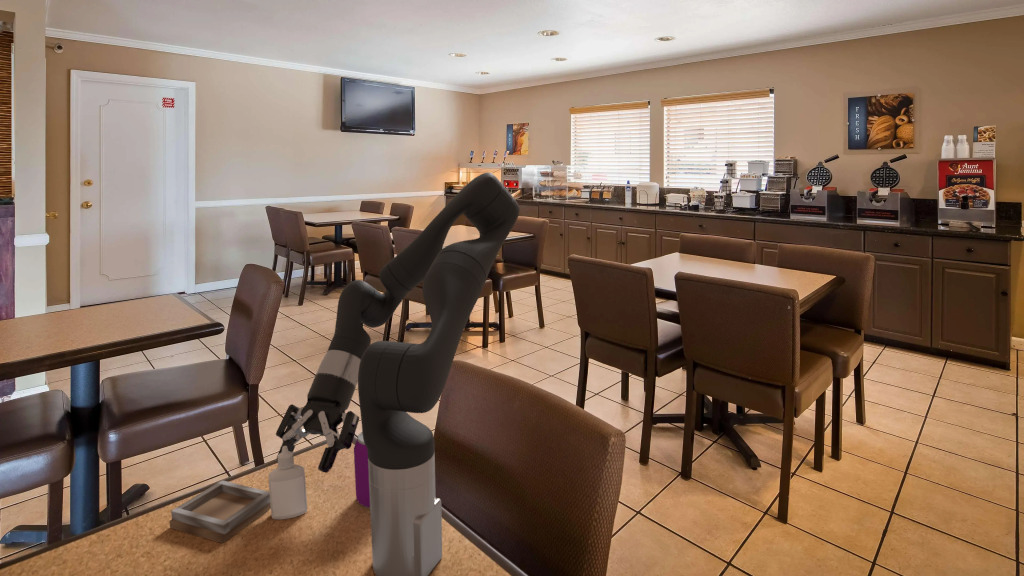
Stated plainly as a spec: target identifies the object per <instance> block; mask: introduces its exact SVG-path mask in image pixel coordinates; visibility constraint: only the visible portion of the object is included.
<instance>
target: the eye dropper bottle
mask: <svg viewBox="0 0 1024 576" xmlns="http://www.w3.org/2000/svg"><path fill="white" fill-rule="evenodd" d="M277 455H278V456H277ZM277 455H276V460H277V459H278V463H277V467H276V468H274V469H272V470H271V471H270V472H269V473H268V492H269V493H270V505H271V508H270V515H271V516H270V517H271V518H272V519H273V520H288V519H293V518H296V517H299V516H302V515H304V514H305V513H307V511H308V503H307V502H308V501H307V500H308V499H307V487H306V486H307V485H306V472H305V468H304V467H303V466H302V465H300V464H295V461H294V459H295V458H294V452H293V453H292V452H290V451H288V448H287V446H283V447H282V452H281V453H280V454H277Z"/></svg>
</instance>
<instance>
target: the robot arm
mask: <svg viewBox="0 0 1024 576" xmlns="http://www.w3.org/2000/svg"><path fill="white" fill-rule="evenodd" d="M520 211H521V210H520V205H519V203H518V201H517V200H516V199H515V197H513V195H512V194H511V193H510V191H509V190H508V189H507V188H506V187H505V185H504V184H503V183H502V182H501V181H500V180H499V178H497V176H495V174H493V173H492V172H483V173H481V174H479V175H477V176H476V177H474V178H473V179H472V180H470V181H468V183H467V184H466V185H465V186H464V187H462V188H461V190H460V191H459V192H458V193H457V194H456V195H455V196H453V198H452V199H451V200H450V201H449V202H448V203H447V204H446V205H445V206H444V207H443V209H442V210H440V211H439V213H438V214H437V215H436V216H435V217H434V218H433V219H432V220H431V221H430V223H428V224H427V226H426V227H425V228H424V229H423V230H422V231H421V232H420V233H419V235H418V236H417V237H416V238H415V239H413V241H412V242H410V243H409V244H408V246H406V247H405V248H404V249H403V250H401V251H400V252H399V253H398V254H397V255H396V256H394V257H393V258H391V260H390V261H389V262H387V263H386V264H385V265H383V266H382V268H381V269H380V270H379V274H378V277H379V280H380V282H381V284H382V285H383V287H384V288H385V289H386V291H384V292H383V293H381V292H380V291H379V290H377V289H376V288H374V287H373V285H371V284H369V283H368V282H366V281H364V280H361V279H356V280H352V281H350V282H349V283H348V284H346V286H344V288H343V289H342V291H341V293H340V295H339V299H338V302H337V309H336V310H337V311H336V320H335V326H334V327H335V328H334V334H333V336H332V339H331V341H330V343H329V346H328V348H327V351H326V352H325V355H324V356H323V358H322V360H321V361H320V365H319V366H318V368H317V371H316V374H315V375H314V378H313V381H312V383H311V386H310V388H309V390H308V392H307V396H306V397H307V401H306V404H305V405H304V406H303V407H299V406H297V405H295V404H293V403H292V404H290V405H288V407H287V409H286V412H285V413H284V416H283V417H282V419H281V421H280V422H279V423H280V424H279V425H278V428H277V430H276V431H275V435H276V437H278V438H280V439H281V440H282V443H281V446H280V449H279V451H278V454H280V453H281V452H282V447H283V446H287V448H288V451H290V452H292V453H293V454H294V450H295V448H296V446H295V445H297V443H298V442H300V440H302V439H303V438H306V437H308V436H309V435H314V436H315V435H320V436H322V437H325V441H326V444H327V447H325V449H324V451H323V452H322V456H321V459H320V460H319V463H318V466H317V468H318V471H320V472H321V473H326V474H327V473H328V472H329V471H330V470H332V468H333V467H334V464H335V461H336V459H337V455H338V453H339V452H340V451H341V450H345V449H346V450H349V449H350V448H351V447H352V444H353V441H354V437H355V435H356V434H355V433H356V430H357V428H358V424H359V421H360V420H361V422H360V423H361V432H362V434H363V440H364V443H365V445H366V447H367V451H368V469H369V493H370V508H369V509H370V510H369V511H370V513H369V514H370V535H371V556H372V557H371V558H372V559H371V560H372V569H373V573H374V574H375V575H376V576H430V574H431V573H432V571H433V570H434V569H435V567H436V566H437V564H438V563H439V562H440V560H441V559H442V558H443V527H442V526H443V522H442V520H443V518H442V499H441V498H439V497H436V461H435V459H436V457H435V456H436V455H435V454H436V453H435V451H436V450H435V437H434V436H435V435H434V434H433V432H432V430H431V428H430V427H428V426H427V425H425V424H424V423H422V422H421V421H419V420H417V419H416V418H414V417H412V416H411V415H410V413H411V414H426V413H428V412H430V411H431V410H433V408H435V406H436V405H437V403H438V402H439V400H440V398H441V396H442V395H443V394H442V393H443V392H444V389H445V386H446V383H447V381H448V378H449V374H450V372H451V368H452V365H453V362H454V358H455V356H456V354H457V353H456V352H457V349H458V346H459V344H460V341H461V339H462V338H461V337H462V335H463V333H464V331H465V328H466V325H467V324H468V321H469V318H470V317H471V314H472V312H473V310H474V308H475V306H476V303H477V302H478V300H479V298H480V295H481V293H482V291H483V288H484V287H485V284H486V282H487V279H488V276H489V274H490V271H491V270H492V266H493V265H494V262H495V260H496V258H497V256H498V254H499V252H500V250H501V248H502V246H503V244H504V243H505V241H506V239H507V238H508V236H509V234H510V233H511V231H512V229H513V228H514V226H515V224H516V223H517V220H518V218H519V216H520ZM462 215H464V216H465V217H466V219H467V220H468V221H469V222H470V223H471V224H472V225H473V226H474V228H476V230H477V231H478V232H479V236H478V238H473V239H467V240H461V241H457V242H454V243H451V244H449V245H446V246H445V247H444V244H445V241H446V238H447V237H448V234H449V231H450V229H451V228H452V226H453V225H454V223H455V222H456V221H457V220H458V219H459V218H460V217H461V216H462ZM421 283H422V294H423V295H422V296H423V300H424V303H425V306H426V309H427V312H428V314H429V318H430V321H431V328H430V331H429V333H428V336H427V337H426V339H425V340H424V341H423V342H422V343H411V342H401V341H389V340H378V341H374V342H372V339H371V336H370V334H369V333H368V332H367V330H366V329H364V327H363V325H364V326H366V327H367V328H370V329H371V328H372V329H374V328H379V327H382V326H384V325H385V324H386V323H388V322H389V320H390V318H391V317H392V316H393V315H394V314H395V312H396V310H397V308H398V307H399V306H400V305H401V303H402V302H403V300H404V299H405V297H406V296H407V295H408V294H409V293H410V292H412V290H414V289H415V288H416V287H417V286H418V285H420V284H421ZM371 342H372V343H371ZM356 389H357V393H358V400H359V403H358V404H359V410H360V416H359V415H357V414H356V413H354V411H352V410H349V411H347V410H348V409H349V408H350V404H351V401H352V399H353V396H354V393H355V390H356ZM346 411H347V412H346ZM341 424H342V427H341V430H340V433H339V429H338V426H340V425H341ZM302 427H303V428H302ZM278 454H277V455H276V457H277V456H278ZM276 463H277V464H278V459H277V458H276Z"/></svg>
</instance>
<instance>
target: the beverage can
mask: <svg viewBox="0 0 1024 576" xmlns="http://www.w3.org/2000/svg"><path fill="white" fill-rule="evenodd" d="M353 458H354V459H353V461H354V478H355V479H354V481H355V482H354V483H355V497H356V498H355V499H356V501H357V502H358V504H360V505H361V506H362V507H364V508H366V509H370V493H369V469H368V451H367V447H366V445H365V443H364V440H363V434H362V431H361V432H360V433H358V435H357V438H356V441H355V444H354V447H353Z"/></svg>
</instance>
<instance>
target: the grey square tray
mask: <svg viewBox="0 0 1024 576" xmlns="http://www.w3.org/2000/svg"><path fill="white" fill-rule="evenodd" d="M269 510H271V505H270V493H269V490H264V489H259V488H255V487H252V486H246V485H245V484H244V485H243V484H239V483H236V482H232V481H227V480H223V479H222V480H220V481H218V482H216V483H215V484H214V485H213V484H212V485H211V486H210V487H209V488H207V489H205V490H203V491H201V493H198V494H197V495H195V496H193V497H191V498H190V499H188V500H187V501H185V502H183V503H182V504H180V505H178V506H177V507H175V508H174V509H172V510H170V514H171V520H169V521H168V522H169V529H173V530H176V531H180V532H182V533H187V534H189V535H193V536H197V537H200V538H203V539H208V540H211V541H213V542H217V543H220V544H223V543H226V542H227V541H228V540H229V539H231V538H232V537H233V536H235V535H236V534H237V533H239V532H240V531H242V530H243V529H244V528H246V527H247V526H248V525H250V524H251V523H253V522H254V521H256V520H257V519H258V518H259V517H261V516H262V515H264V514H265V513H266V512H267V511H269Z"/></svg>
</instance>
